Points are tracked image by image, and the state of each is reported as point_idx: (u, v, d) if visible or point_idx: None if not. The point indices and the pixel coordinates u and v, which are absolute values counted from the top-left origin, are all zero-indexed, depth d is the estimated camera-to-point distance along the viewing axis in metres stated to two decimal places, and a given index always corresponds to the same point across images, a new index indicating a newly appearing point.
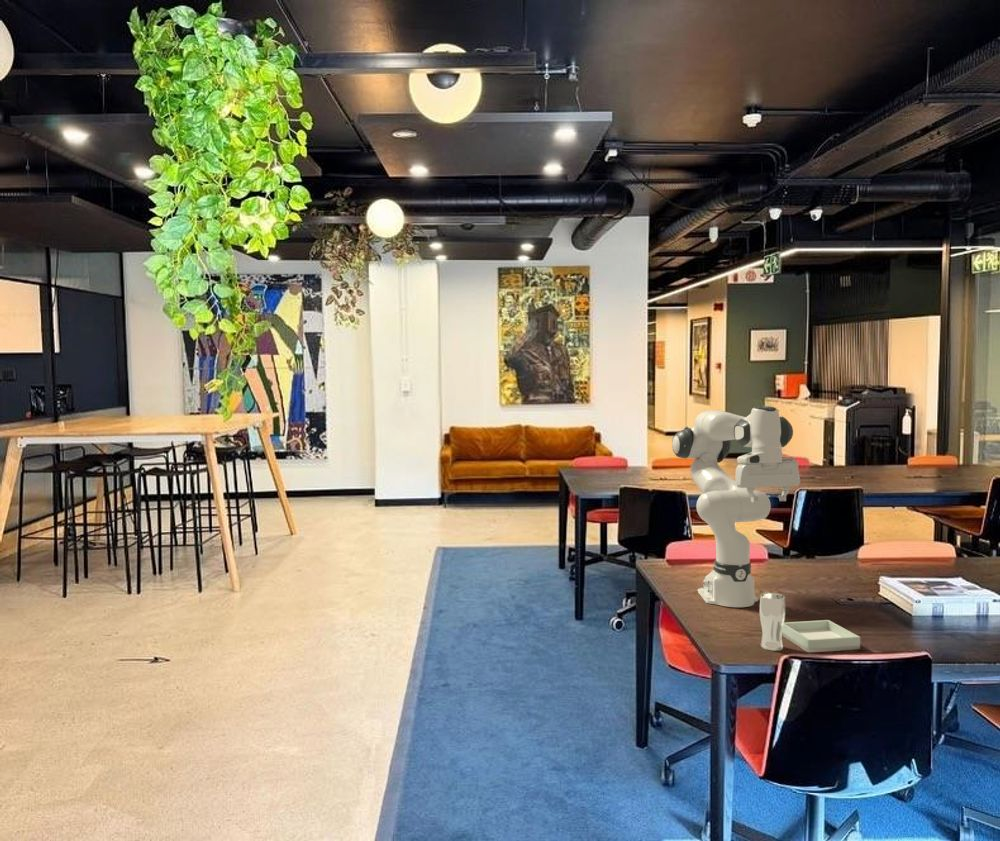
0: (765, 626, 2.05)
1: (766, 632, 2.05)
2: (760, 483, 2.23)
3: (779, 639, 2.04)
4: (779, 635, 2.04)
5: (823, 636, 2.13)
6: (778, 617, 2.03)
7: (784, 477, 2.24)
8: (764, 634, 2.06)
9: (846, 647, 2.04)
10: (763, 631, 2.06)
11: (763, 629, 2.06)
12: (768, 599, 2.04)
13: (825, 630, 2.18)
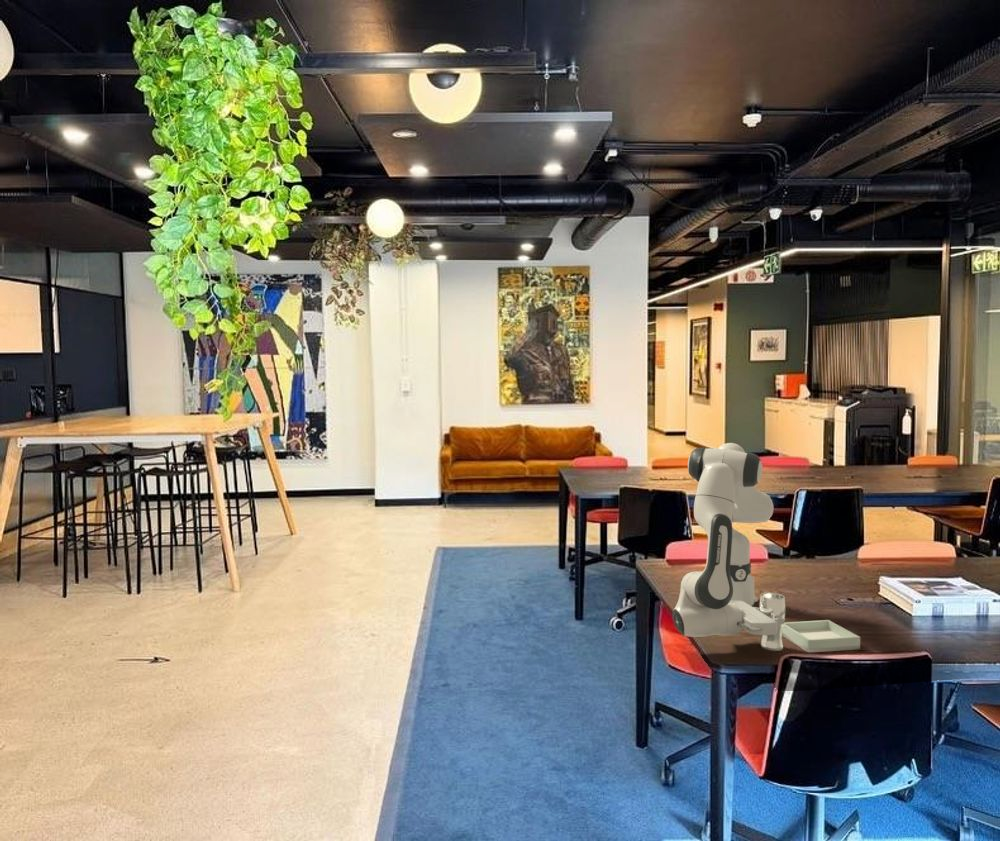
0: None
1: None
2: None
3: (779, 639, 2.04)
4: (779, 635, 2.04)
5: (823, 636, 2.13)
6: None
7: None
8: None
9: (846, 647, 2.04)
10: None
11: None
12: (768, 599, 2.04)
13: (825, 630, 2.18)
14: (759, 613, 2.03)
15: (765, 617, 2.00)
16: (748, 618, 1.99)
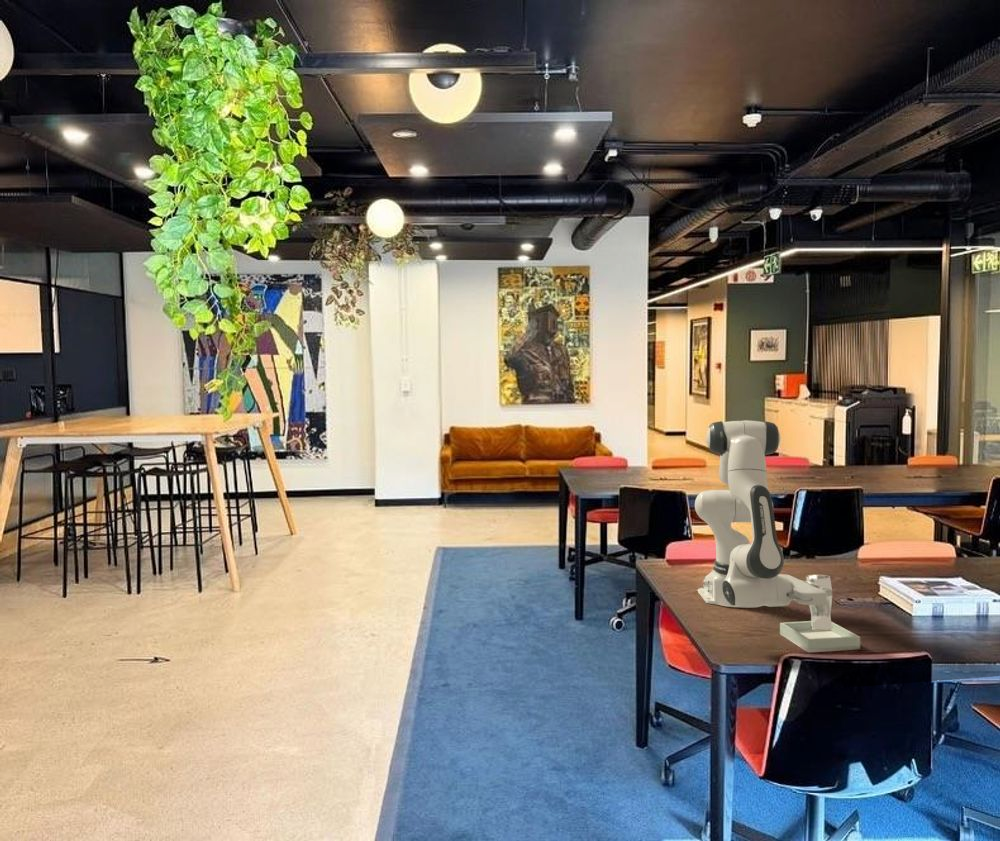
0: (814, 607, 2.09)
1: (815, 612, 2.09)
2: None
3: (828, 619, 2.08)
4: (828, 614, 2.08)
5: (823, 636, 2.13)
6: None
7: None
8: (813, 615, 2.09)
9: (846, 647, 2.04)
10: (812, 612, 2.10)
11: (812, 610, 2.10)
12: (815, 579, 2.08)
13: None
14: (807, 585, 2.07)
15: (814, 588, 2.04)
16: (798, 589, 2.03)
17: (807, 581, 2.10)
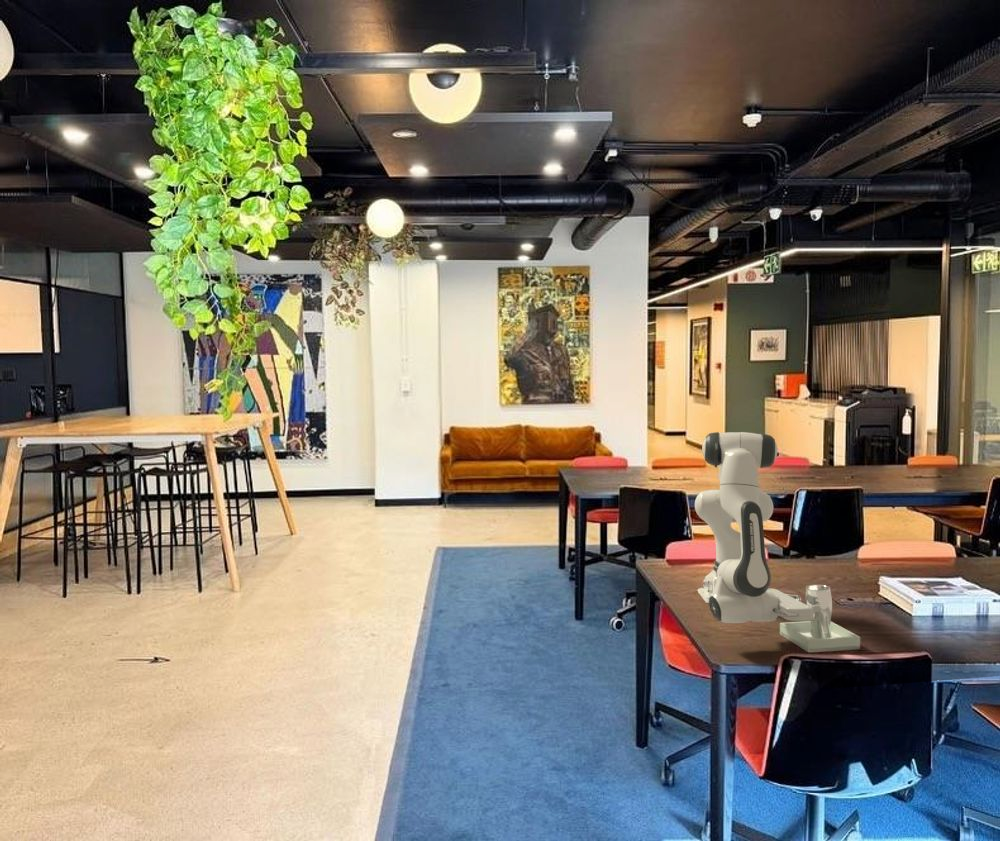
0: (814, 618, 2.09)
1: (815, 623, 2.09)
2: None
3: (828, 630, 2.08)
4: (828, 625, 2.08)
5: None
6: (826, 608, 2.07)
7: None
8: (813, 626, 2.09)
9: (846, 647, 2.04)
10: (812, 623, 2.10)
11: (812, 621, 2.10)
12: (814, 591, 2.08)
13: None
14: (794, 600, 2.07)
15: (800, 603, 2.03)
16: (784, 604, 2.03)
17: (807, 592, 2.10)
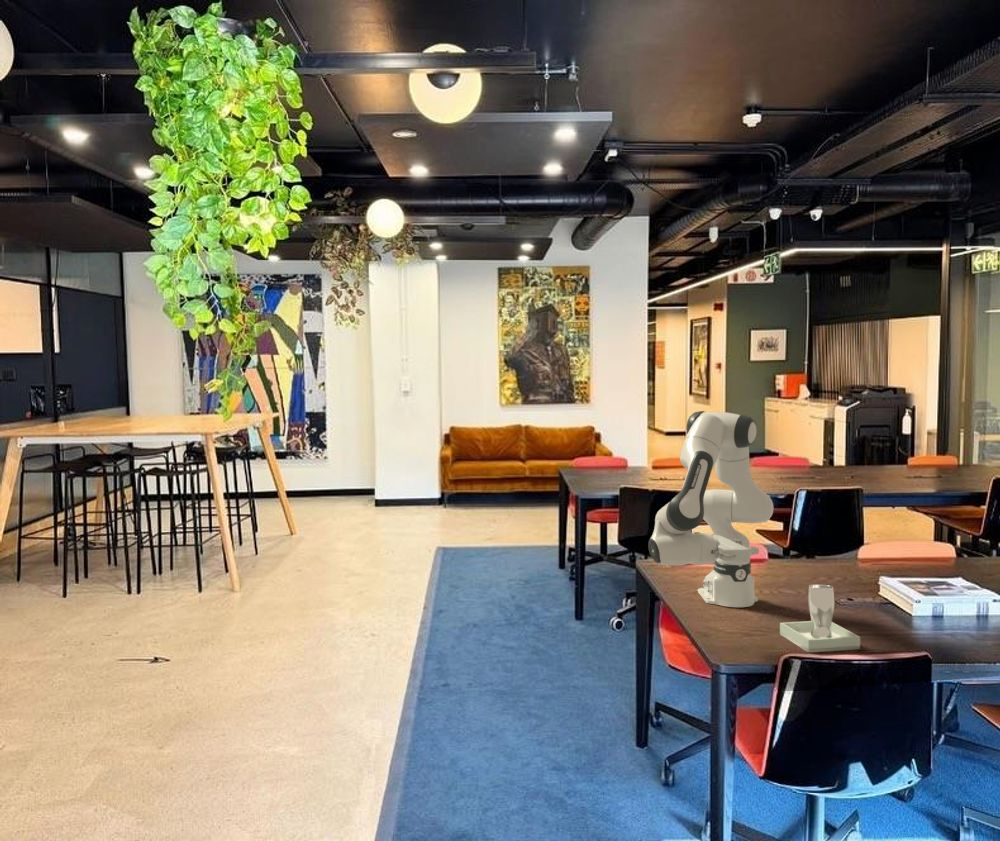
0: (817, 616, 2.09)
1: (818, 622, 2.09)
2: None
3: (830, 629, 2.08)
4: (830, 625, 2.09)
5: None
6: (829, 606, 2.08)
7: None
8: (815, 625, 2.09)
9: (846, 647, 2.04)
10: (814, 622, 2.10)
11: (814, 620, 2.10)
12: (819, 589, 2.08)
13: None
14: (733, 543, 2.08)
15: (738, 545, 2.04)
16: (722, 546, 2.03)
17: (811, 590, 2.10)
